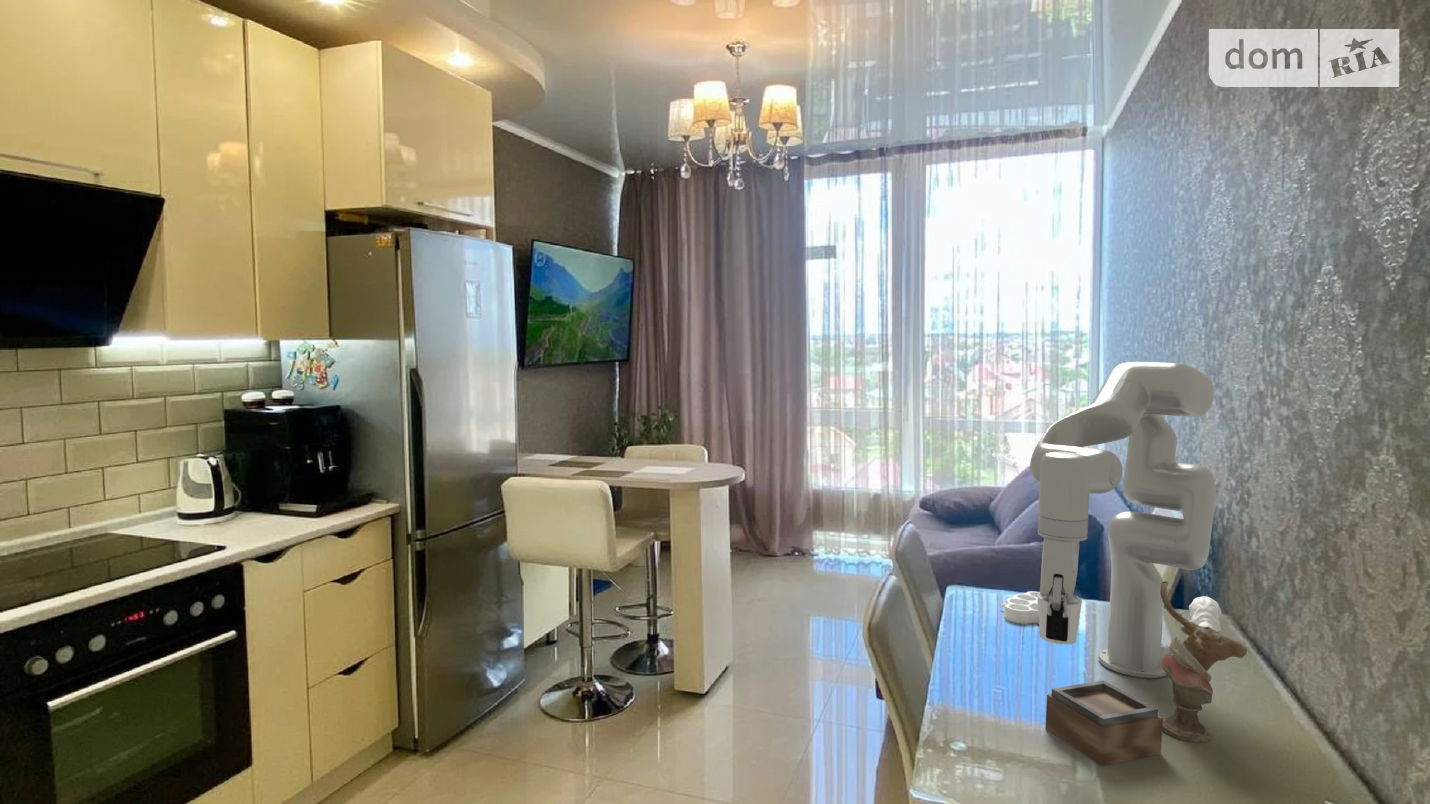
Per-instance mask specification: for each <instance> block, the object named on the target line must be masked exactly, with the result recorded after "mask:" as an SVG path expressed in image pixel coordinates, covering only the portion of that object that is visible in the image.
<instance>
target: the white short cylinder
mask: <svg viewBox="0 0 1430 804" xmlns="http://www.w3.org/2000/svg"><path fill="white" fill-rule="evenodd" d="M1052 596H1053V593H1052ZM1061 597H1062V598H1065V595H1063V594H1061ZM1061 604H1064V602H1061ZM1082 604H1083V599H1081V597H1079V596H1077V595H1074V594H1073V596H1072V599H1071V600H1069V601H1068V602H1067V617H1068V639H1067V641H1066V642H1064V641H1058V640H1053V639H1048V638H1046V621H1047V614H1048V605H1049V593H1048V595H1047V596H1044V597H1042V596H1041V595H1040V593H1039V594H1038V613H1039V623H1038V627H1039V628H1038V629H1039V637H1040V639H1042V640H1044V641H1046V642H1049V643H1053V644H1057V645H1072V644H1075V643H1076V642H1077V638H1078V632H1079V631H1078V630H1079V625H1080V618H1081V610H1082Z"/></svg>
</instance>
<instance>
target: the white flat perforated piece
mask: <svg viewBox="0 0 1430 804" xmlns="http://www.w3.org/2000/svg"><path fill="white" fill-rule="evenodd" d="M1039 593H1040V591H1032V590H1031V591H1026V592H1025V593H1017V594H1013V595H1012V597H1007V599H1006V602H1003V603H1001V604H1000V607H1002V608H1004V611H1003V617H1004V619H1005V620H1007V621H1009V622H1012V623H1017V624H1029V623H1034V624H1039V613H1038V594H1039Z"/></svg>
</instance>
